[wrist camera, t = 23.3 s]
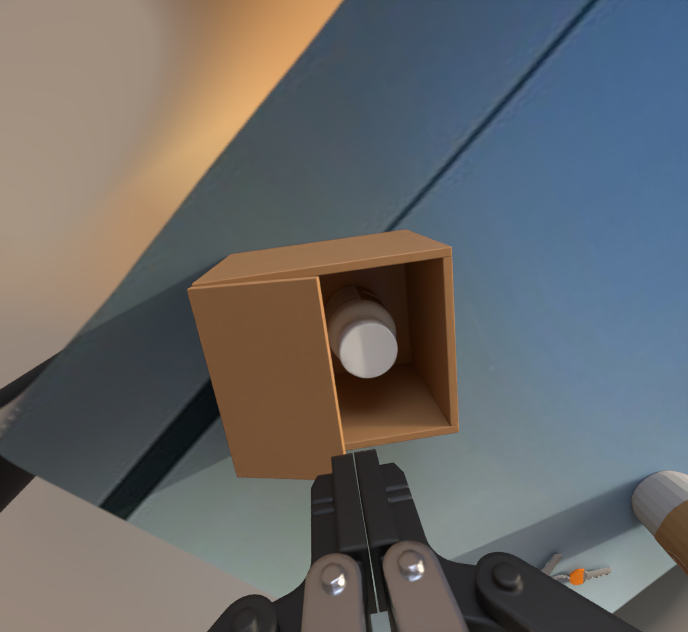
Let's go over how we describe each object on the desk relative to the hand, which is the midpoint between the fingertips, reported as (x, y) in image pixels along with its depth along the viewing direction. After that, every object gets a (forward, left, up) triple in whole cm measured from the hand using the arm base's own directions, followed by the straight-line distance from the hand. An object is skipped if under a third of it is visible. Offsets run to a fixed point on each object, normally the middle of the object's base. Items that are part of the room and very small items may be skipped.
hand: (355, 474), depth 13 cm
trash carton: (0, 0, -18) cm, 18 cm away
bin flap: (-3, 0, -7) cm, 8 cm away
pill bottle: (+2, 0, -18) cm, 18 cm away
